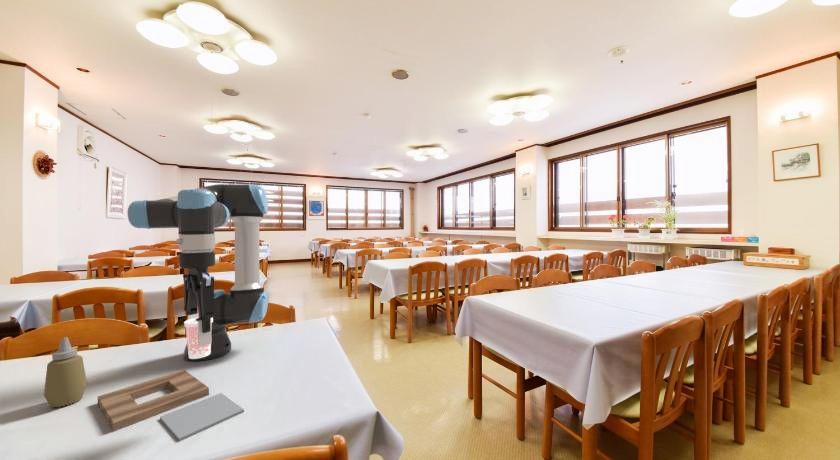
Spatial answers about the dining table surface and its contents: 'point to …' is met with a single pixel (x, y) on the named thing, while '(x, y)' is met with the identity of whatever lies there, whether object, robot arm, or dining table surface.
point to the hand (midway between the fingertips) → (199, 341)
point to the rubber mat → (200, 416)
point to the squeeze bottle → (65, 376)
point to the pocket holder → (128, 412)
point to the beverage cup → (195, 340)
